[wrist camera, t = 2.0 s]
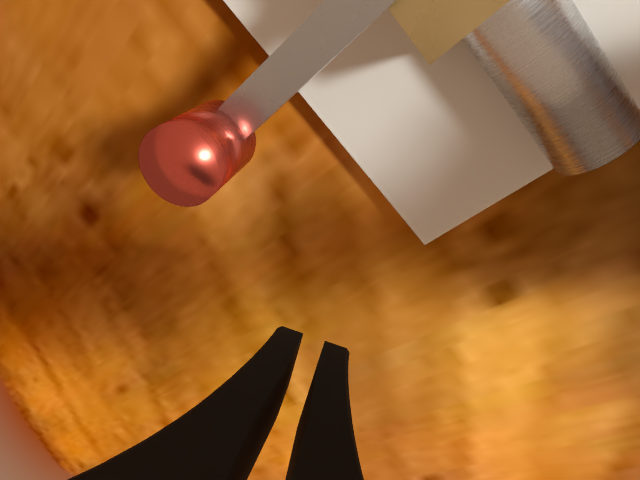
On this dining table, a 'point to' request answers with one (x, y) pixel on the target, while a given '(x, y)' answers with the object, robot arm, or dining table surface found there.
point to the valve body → (537, 72)
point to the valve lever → (247, 107)
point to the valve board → (432, 110)
